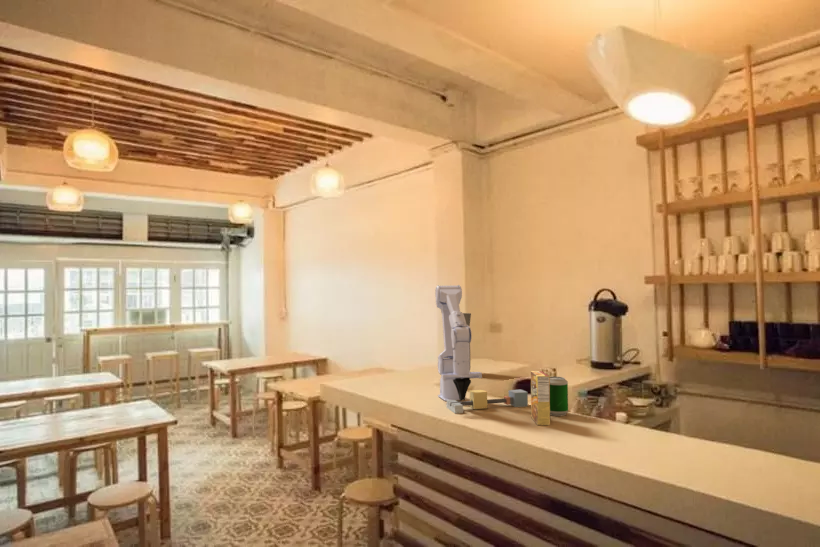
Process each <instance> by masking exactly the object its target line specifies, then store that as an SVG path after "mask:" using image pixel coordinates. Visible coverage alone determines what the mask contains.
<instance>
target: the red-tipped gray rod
mask: <svg viewBox="0 0 820 547" xmlns="http://www.w3.org/2000/svg"><path fill="white" fill-rule="evenodd" d="M508 396H509V395H504V396H503V398H494V399H493V398H492V399H487V405H491V404H492V405H493V404H505V405H506V406H507V405H508V406H511V405H510V397H508ZM451 403H460V404H462V405H463V407H466V406H470V405H473V401H470V400H463V401H457V402H451Z"/></svg>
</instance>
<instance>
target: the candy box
mask: <svg viewBox="0 0 820 547" xmlns="http://www.w3.org/2000/svg"><path fill="white" fill-rule="evenodd" d="M550 377H551V376H550V375H549V374H547V373H546V372H544V371H542V370H540V371H539V370H531V371H530V416H531V417H530V418H531V419H532V420H533V422H535V424H536V425H537V426H551V415H550Z"/></svg>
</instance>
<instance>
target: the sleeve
mask: <svg viewBox="0 0 820 547" xmlns="http://www.w3.org/2000/svg"><path fill="white" fill-rule="evenodd" d="M487 400H488V391H486V390H484V389H474V390H469V401H473V405H469V408H471V409H473V410H481V409H482V410H483V409H488V404H487Z"/></svg>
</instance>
